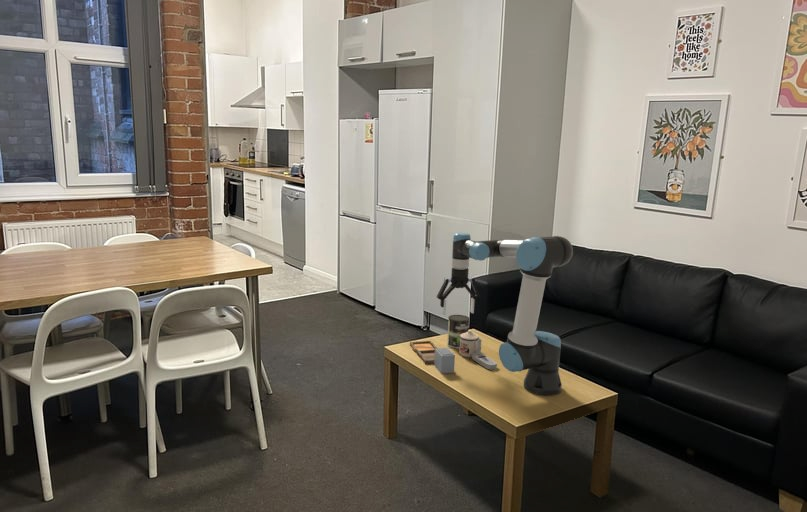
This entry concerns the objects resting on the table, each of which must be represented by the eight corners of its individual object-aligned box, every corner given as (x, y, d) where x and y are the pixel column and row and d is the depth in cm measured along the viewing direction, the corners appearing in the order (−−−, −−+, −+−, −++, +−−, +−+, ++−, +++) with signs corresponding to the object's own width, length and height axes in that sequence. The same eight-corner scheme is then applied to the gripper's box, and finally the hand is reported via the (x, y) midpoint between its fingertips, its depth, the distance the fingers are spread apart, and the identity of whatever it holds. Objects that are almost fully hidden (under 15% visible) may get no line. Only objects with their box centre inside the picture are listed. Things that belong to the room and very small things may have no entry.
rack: (447, 362, 255) (447, 358, 255) (425, 364, 252) (425, 360, 252) (430, 343, 278) (430, 340, 278) (409, 345, 275) (409, 342, 275)
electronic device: (491, 350, 245) (471, 338, 258) (489, 371, 247) (469, 358, 260) (501, 348, 248) (480, 337, 260) (498, 369, 250) (479, 356, 263)
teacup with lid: (454, 353, 267) (456, 329, 264) (469, 349, 272) (470, 326, 270) (472, 361, 257) (473, 336, 255) (486, 357, 263) (488, 333, 260)
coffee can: (471, 347, 275) (473, 320, 272) (452, 349, 271) (453, 321, 269) (462, 340, 284) (464, 313, 281) (443, 342, 281) (445, 315, 278)
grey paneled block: (454, 372, 244) (454, 354, 243) (441, 373, 243) (441, 355, 241) (446, 364, 253) (447, 347, 251) (434, 365, 251) (434, 348, 249)
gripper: (483, 265, 259) (480, 309, 263) (431, 266, 253) (429, 311, 257) (489, 268, 252) (486, 314, 256) (436, 270, 246) (434, 316, 250)
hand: (457, 313), depth 256 cm, fingers open, 13 cm apart
